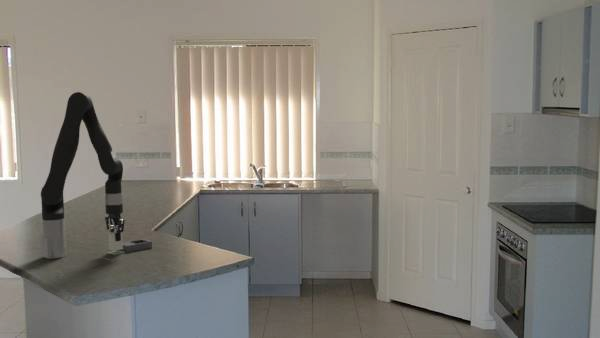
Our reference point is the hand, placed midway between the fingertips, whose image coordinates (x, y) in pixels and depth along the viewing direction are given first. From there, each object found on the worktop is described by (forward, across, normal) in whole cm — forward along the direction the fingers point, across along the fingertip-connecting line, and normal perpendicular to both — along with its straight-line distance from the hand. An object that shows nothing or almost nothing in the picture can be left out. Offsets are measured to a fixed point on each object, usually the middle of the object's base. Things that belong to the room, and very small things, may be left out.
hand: (115, 240), depth 296 cm
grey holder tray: (+6, 0, +10) cm, 12 cm away
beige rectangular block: (+4, 0, 0) cm, 4 cm away
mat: (+6, 0, 0) cm, 6 cm away
